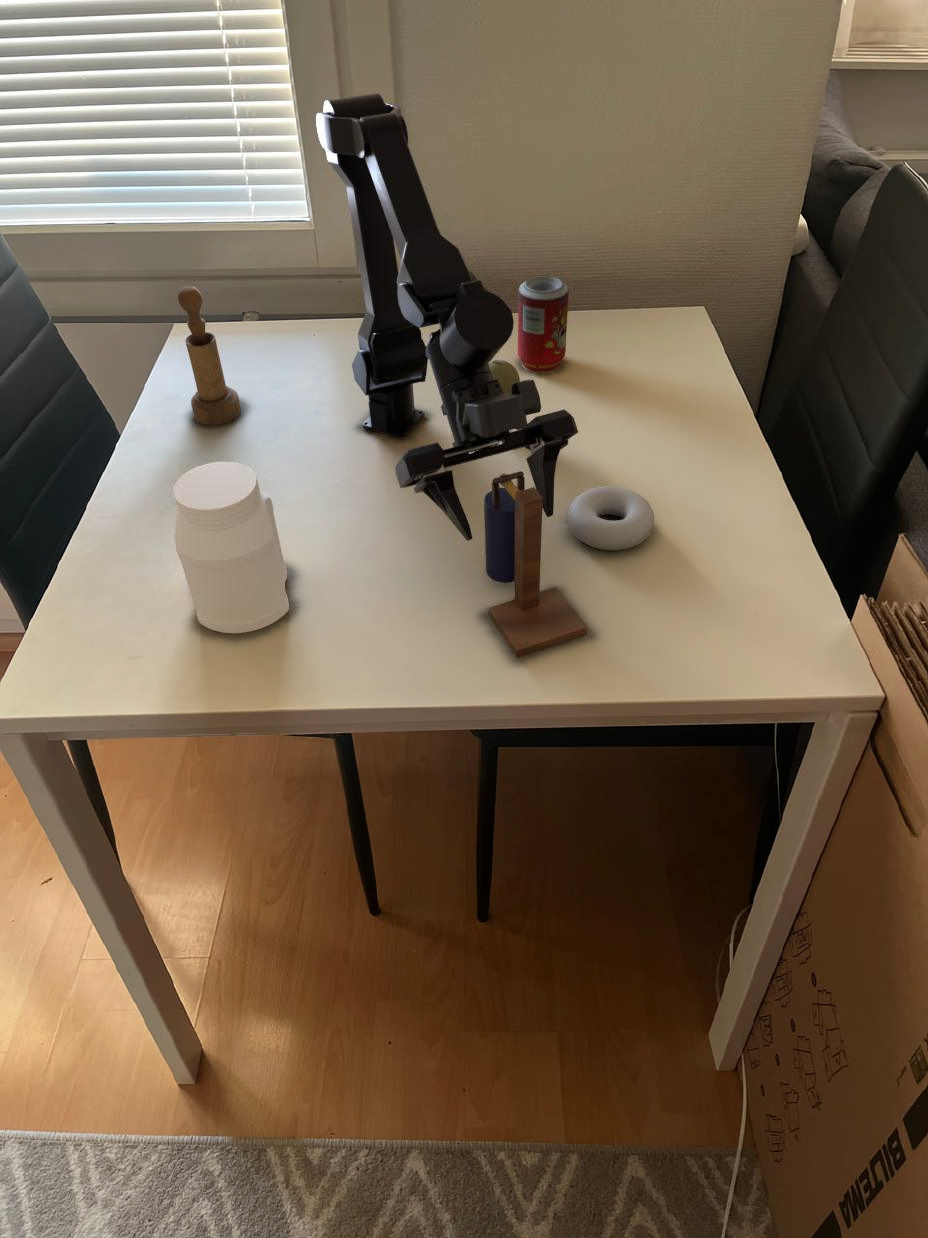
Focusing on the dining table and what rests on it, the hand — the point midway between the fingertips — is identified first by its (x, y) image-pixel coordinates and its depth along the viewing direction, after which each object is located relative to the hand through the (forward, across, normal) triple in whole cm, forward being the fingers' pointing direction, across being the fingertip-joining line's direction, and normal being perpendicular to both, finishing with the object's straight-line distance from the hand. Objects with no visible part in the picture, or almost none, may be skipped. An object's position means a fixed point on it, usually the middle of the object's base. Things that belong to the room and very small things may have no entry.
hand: (510, 527), depth 96 cm
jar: (-2, -27, +13) cm, 30 cm away
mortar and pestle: (-30, -22, +42) cm, 56 cm away
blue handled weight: (+4, 0, +6) cm, 7 cm away
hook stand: (+9, 0, +3) cm, 9 cm away
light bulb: (-15, +12, +27) cm, 33 cm away
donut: (+3, +15, +9) cm, 17 cm away
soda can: (-25, +25, +36) cm, 51 cm away
